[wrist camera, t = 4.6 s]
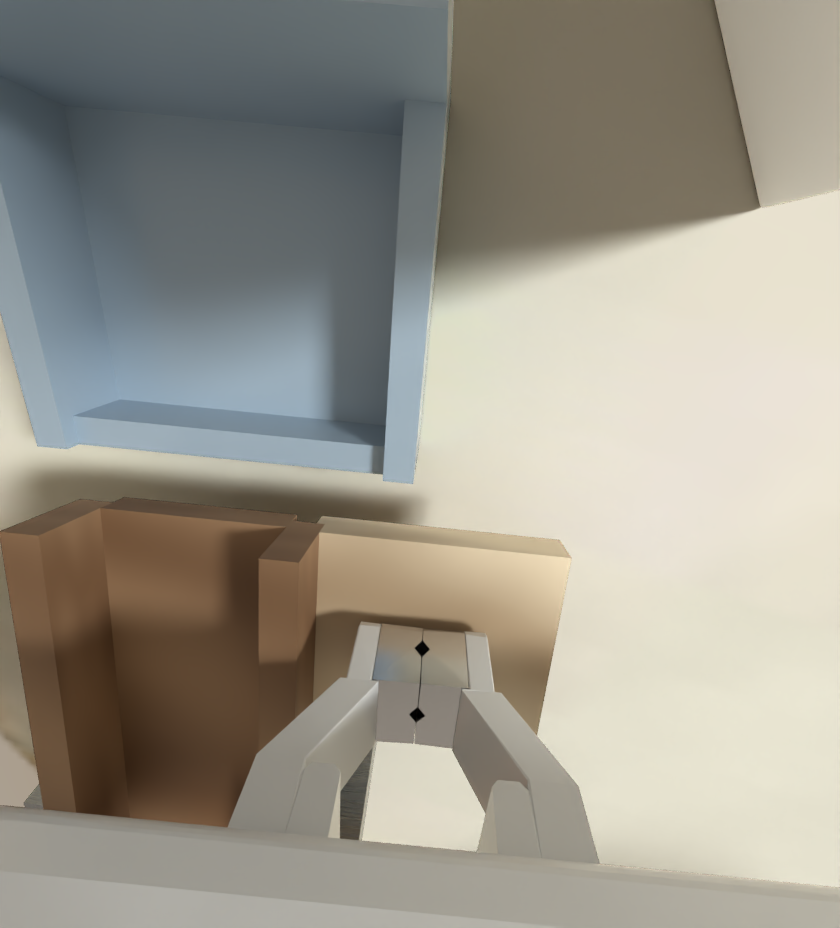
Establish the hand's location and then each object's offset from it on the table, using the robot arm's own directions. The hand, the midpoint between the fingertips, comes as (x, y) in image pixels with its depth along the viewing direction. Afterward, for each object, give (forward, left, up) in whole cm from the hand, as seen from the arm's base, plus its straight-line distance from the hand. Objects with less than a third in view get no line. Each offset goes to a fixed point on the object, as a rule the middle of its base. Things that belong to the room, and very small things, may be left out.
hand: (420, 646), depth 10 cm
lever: (+3, +7, -1) cm, 8 cm away
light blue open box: (+6, -8, -5) cm, 11 cm away
